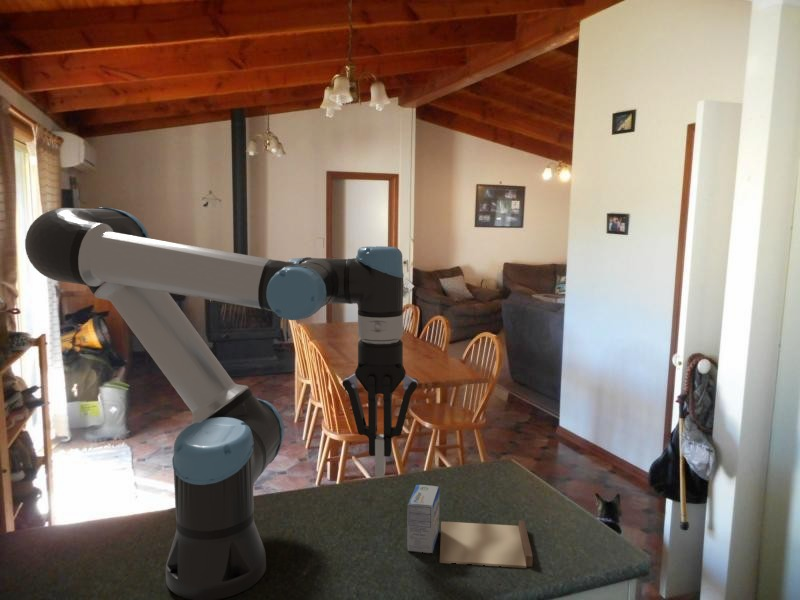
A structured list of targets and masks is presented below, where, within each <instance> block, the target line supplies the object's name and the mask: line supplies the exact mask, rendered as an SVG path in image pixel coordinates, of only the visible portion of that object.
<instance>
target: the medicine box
mask: <svg viewBox="0 0 800 600" xmlns="http://www.w3.org/2000/svg"><path fill="white" fill-rule="evenodd" d="M440 490H441V489H440V486H438V485H437V486H435V485H427V484H416V485H415V488H414V490H413V493H412V495H411V497H410V499H409V500H408V501H409V502H408V504H407V511H406V512H407V513H406V514H407V518H406V520H407V523H406V525H407V527H406V530H407V531H406V532H407V536H406V538H407V539H406V544H407V551H408V552H413V553H414V552H415V553H422V552H423V554H430V553H432V554H433V553H434V549H435V546H436V541H437V539H438V535H439V530H440Z"/></svg>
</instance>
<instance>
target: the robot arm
mask: <svg viewBox="0 0 800 600" xmlns="http://www.w3.org/2000/svg"><path fill="white" fill-rule="evenodd" d="M24 247H25V252H26V256H27V259H28V260H29V262H30V263H31V265H32V266H33V268H34V269H35V270H36V271H38V272H39V273H40V274H41V275H43V276H44V277H46V278H48V279H49V280H52V281H56V282H62V283H70V284H77V285H84V286H87V288H88V289H89V291H91V293H92V294H93V296H94V297H95V298H96V299H101V300H106V301H109V302H110V303H111V304H112V305H113V307H114V308H115V310H116V311H117V312H118V314H119V315H120V316H121V318H122V319H123V320H124V321H125V323H126V324H127V326H128V327H129V328H130V330H131V331H132V333H133V334H134V335H135V337H136V338H137V339H138V341H139V342H140V343H141V345H142V346H143V348H144V349H145V350H146V352H147V353H148V355H149V356H150V357H151V358H152V361H154V363H155V364H156V365H157V366H158V368H159V370H161V372H162V374H163V375H164V377H166V379H167V380H168V381H169V383H170V385H171V386H172V387H173V388H174V389H175V391H176V393H177V394H178V395H179V396H180V398H181V399H182V401H183V403H184V404H185V405H186V406H187V407H188V409H189V410H190V411H191V414H192V417H191V418H192V419H191V424H190V425H188V426H185V428H184V429H183V430H181V432H179V434H177V437H176V439H175V440H174V443H173V455H172V469H173V483H174V486H173V487H174V503H175V504H174V507H175V534H174V538H173V541H172V544H171V547H170V550H169V554H168V557H167V561H166V564H165V581H166V582H165V583H166V586H167V588H168V590H170V591H171V592H172V593H173V594H174V595H176V596H178V597H180V598H183V599H187V600H221V599H226V598H230V597H234V596H235V595H238V594H240V593H243V592H245V591H247V590H249V589H251V588H252V587H253V586H254V585H256V584H257V583H258V582H259V581H261V579H262V577H263V576H264V574H265V573H266V569H267V558H266V556H267V553H266V549H265V547H264V544H263V541H262V537H260V536H261V535H260V533H259V531H258V528H257V526H256V523H255V519H254V518H255V515H254V513H255V512H254V511H255V510H254V509H255V508H254V506H255V505H254V486H255V483H256V482H257V480H258V478H259V477H260V476H261V475H262V474H263V472H264V471H265V470H266V469H267V468H268V466H269V465H270V464H271V463H273V461H274V460H275V458H276V457H277V456H278V454H279V453H280V450H281V447H282V445H283V443H284V440H285V439H284V438H285V423H284V420H283V417H282V415H281V414H280V412H279V410H278V409H277V408H276V407H275V406H274V405H273V404H271V403H270V402H269V401H267V400H264V399H263V400H262V399H261V398H258V397H257V396H256V395H255V394H254V392H253V391H252V390H251V388H250V387H249V386H248V385H244V384H239V383H235V382H234V380H233V379H232V377H231V376H230V375H229V374H228V372H227V370H226V369H225V368H224V367H223V366H222V364H221V363H220V361H219V360H218V359H217V357H216V356H215V355H214V353H213V352H212V350H211V349H210V347H209V346H208V345H207V343H206V341H204V339H203V338H202V336H201V335H200V334H199V332H198V331H197V330H196V328H195V327H194V326H193V324H192V323H191V321H190V320H189V318H188V317H187V316H186V315H185V313H184V312H183V310H182V309H181V308H180V306H179V305H178V304H177V303H176V301H175V300H174V298H173V296H171V294H174V295H180V296H186V297H192V298H197V299H204V300H208V301H209V300H210V301H214V302H215V301H216V302H219V303H227V304H232V305H237V306H244V307H248V308H255V309H261V310H265V311H270V312H273V313H275V314H276V315H277V316H279V317H280V318H282V319H284V320H288V321H299V320H303V319H308V318H309V317H311V316H313V315H315V314H317V312H319V311H320V309H322V308H323V307H325V306H326V305H327V304H328V305H329V304H330V305H332V304H333V305H334V304H336V305H337V304H338V305H339V304H340V305H341V304H348V305H353V304H355V305H356V306H357V336H358V338H359V341H358V342H357V367H356V368H355V370H354V373H353V374H352V375H350V376H346V377H345V378H344V379H343V381H342V383H341V385H342V387H343V388H344V390H345V391H346V393H347V394H348V397H349V398H348V399H349V402H350V406H351V410H352V415H353V417H354V422H355V425H356V430H357V433H358V435H360V436H365V437H367V438H368V454H369V456H370V457H374V477H381V478H382V477H383V478H384V477H385V474H386V467H387V465H386V458H387V457H391V455H392V451H393V438H394V437H401V435H402V433H403V429H404V424H405V421H406V416H407V412H408V410H409V409H408V408H409V405H410V401H411V397H412V395H413V394H414V392H415V391H416V389H417V388H418V383H419V380H418V378H412V377H411V376H409V375H407V372H406V369H405V368H404V363H403V360H404V359H403V358H404V357H403V355H404V354H403V353H404V352H403V349H404V348H403V347H404V345H403V344H404V343H403V341H402V340H401V339H402V337H403V336H404V333H403V332H404V311H403V310H404V308H403V307H404V276H405V275H404V265H403V253H402V251H401V250H400V249H399V248H398V247H395V246H384V245H383V246H381V245H380V246H376V245H375V246H362V247H359V248H358V249H357V255H356V256H355V257H353V258H320V257H316V258H315V257H301V258H291V259H289V260H288V261H284V260H277V259H271V258H265V257H260V256H255V255H248V254H242V253H237V252H230V251H225V250H218V249H213V248H207V247H201V246H197V245H195V246H194V245H189V244H185V243H179V242H171V241H167V240H161V239H156V238H150V235H149V232H148V231H147V229H146V227H145V226H144V224H143V223H142V222H141V220H139V219H138V218H137V217H136V216H134V215H133V214H132V213H130V212H128V211H124V210H121V209H116V208H115V207H114V208H113V207H105V206H101V207H100V206H99V207H94V208H85V207H83V208H79V207H78V208H77V207H76V208H75V207H60V208H54V209H52V210H49V211H46V212H44V213H42V214H41V215H39V216H38V217H36V219H35V220H34V221H33V222H32V223H31V225H30V226H29V228H28V230H27V232H26V235H25V239H24ZM358 381H359V382H358ZM402 382H403V385H402V388H403V390H404V393H403V396H402V401H401V405H400V407H399V412H398V416H397V421H396V423H395V426H393V393H394V392H395V390H396V389H397V388H398V387H399V386H400V384H401V383H402ZM359 383H360V385H361V386H362V387H363V389H364V390H365V392H367V400H368V401H367V402H368V408H367V409H368V412H367V413H368V414H367V415H368V421H367V422H366V418H365V413H364V409H363V405H362V402H361V397H360V394H359V389H358V388H357V387H358V386H359ZM379 394H380V395H382V397H383V398H382V399H383V434H381V433H379V434H378V430H379V429H378V396H379ZM367 423H368V425H367Z"/></svg>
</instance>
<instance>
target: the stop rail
mask: <svg viewBox="0 0 800 600" xmlns="http://www.w3.org/2000/svg"><path fill="white" fill-rule="evenodd" d="M517 526H518V527H519V532H520V537H521V542H522V547H523V552H524V557H525V562H526V568H527V567H528V568H529V567H533V559H534V558H533V552H532V547H531V542H530V539H529V536H528V535H529V534H528V531H527V527H526V526H527V525H526V521H525V520H524V519H518V525H517Z"/></svg>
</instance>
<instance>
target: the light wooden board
mask: <svg viewBox="0 0 800 600" xmlns="http://www.w3.org/2000/svg"><path fill="white" fill-rule="evenodd" d="M518 526H519V525H514V524H513V525H511V524H495V523H478V522H458V521H440V543H439V544H440V547H439V549H440V550H439V563H440V564H451V563H456V565H467V564H472V565H471V566H483V565H485V566H488V567H499V566H501V567H502V568H505V567H506V568H516V569H517V568H518V569H527V566H526V562H525V557H524V552H523V547H522V542H521V537H520V532H519V527H518Z"/></svg>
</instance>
